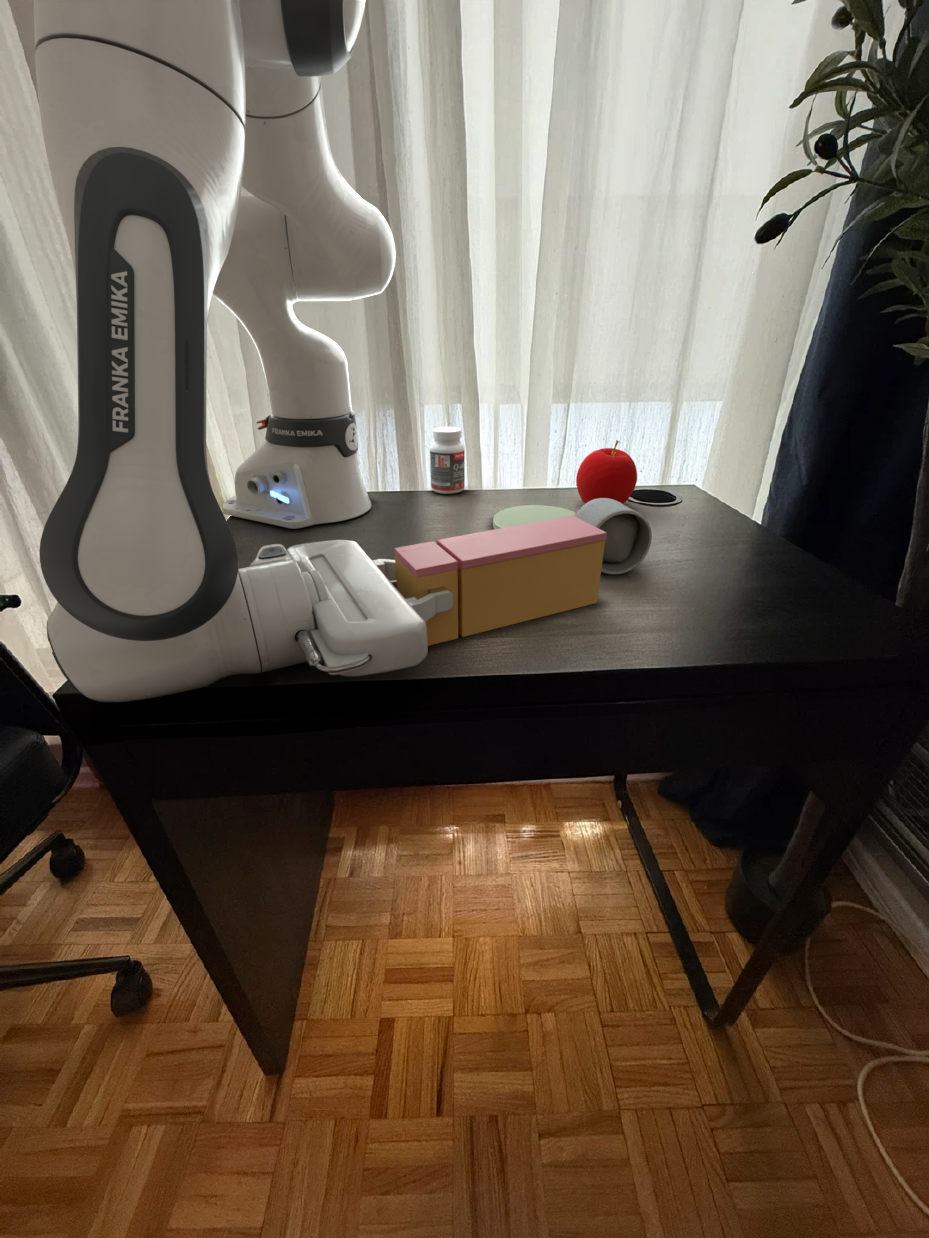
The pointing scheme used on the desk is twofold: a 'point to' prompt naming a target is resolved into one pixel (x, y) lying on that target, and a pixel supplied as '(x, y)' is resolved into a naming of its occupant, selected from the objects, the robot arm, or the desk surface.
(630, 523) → the ceramic mug
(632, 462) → the fruit
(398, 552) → the cake slice
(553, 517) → the plate
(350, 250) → the robot arm
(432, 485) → the pill bottle
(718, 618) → the desk surface
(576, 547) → the loaf cake
